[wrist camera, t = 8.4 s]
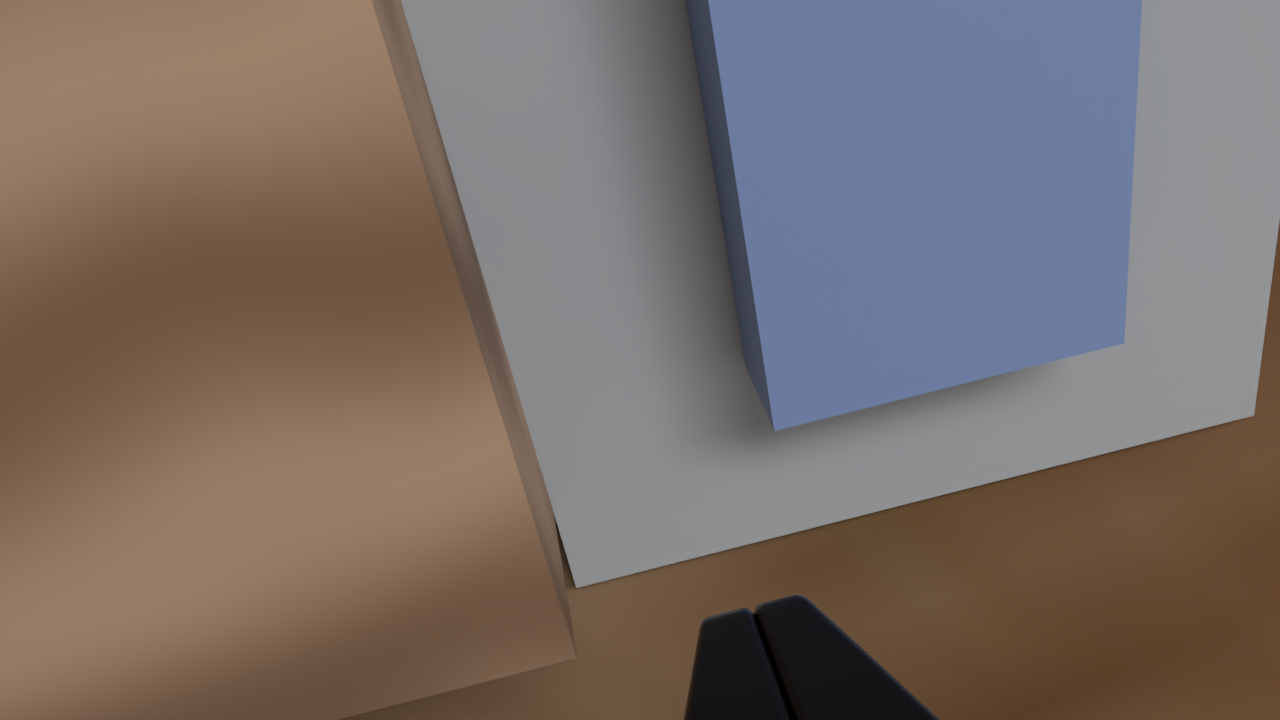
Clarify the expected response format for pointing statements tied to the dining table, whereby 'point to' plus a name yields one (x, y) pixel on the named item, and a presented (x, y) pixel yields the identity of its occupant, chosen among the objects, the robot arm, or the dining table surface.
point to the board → (249, 376)
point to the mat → (704, 299)
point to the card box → (918, 188)
